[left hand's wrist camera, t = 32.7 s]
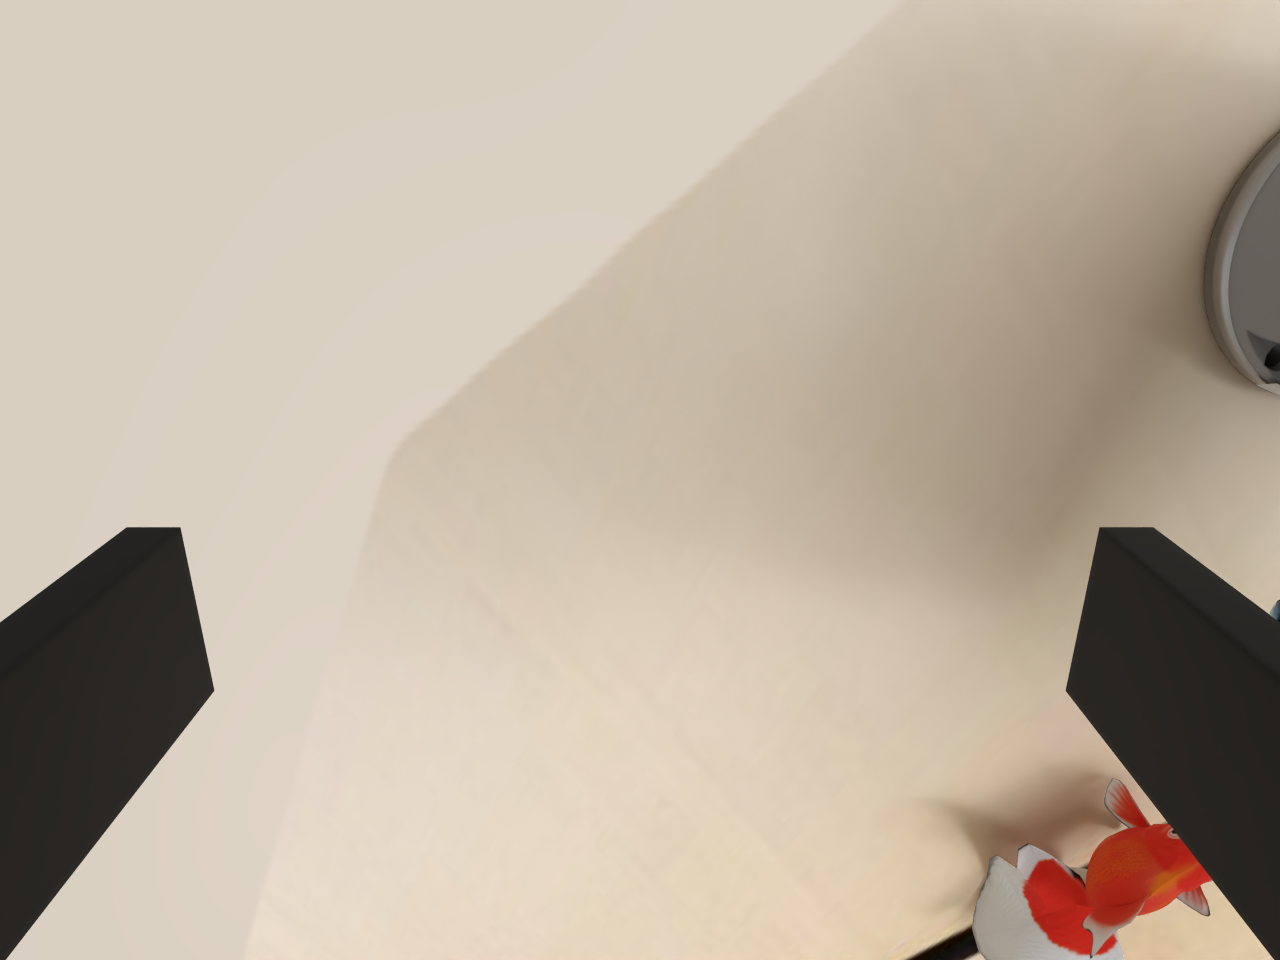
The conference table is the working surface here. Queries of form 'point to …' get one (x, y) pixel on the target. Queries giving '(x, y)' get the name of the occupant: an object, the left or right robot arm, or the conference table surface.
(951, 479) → the conference table surface
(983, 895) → the fish
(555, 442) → the conference table surface
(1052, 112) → the conference table surface
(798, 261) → the conference table surface
